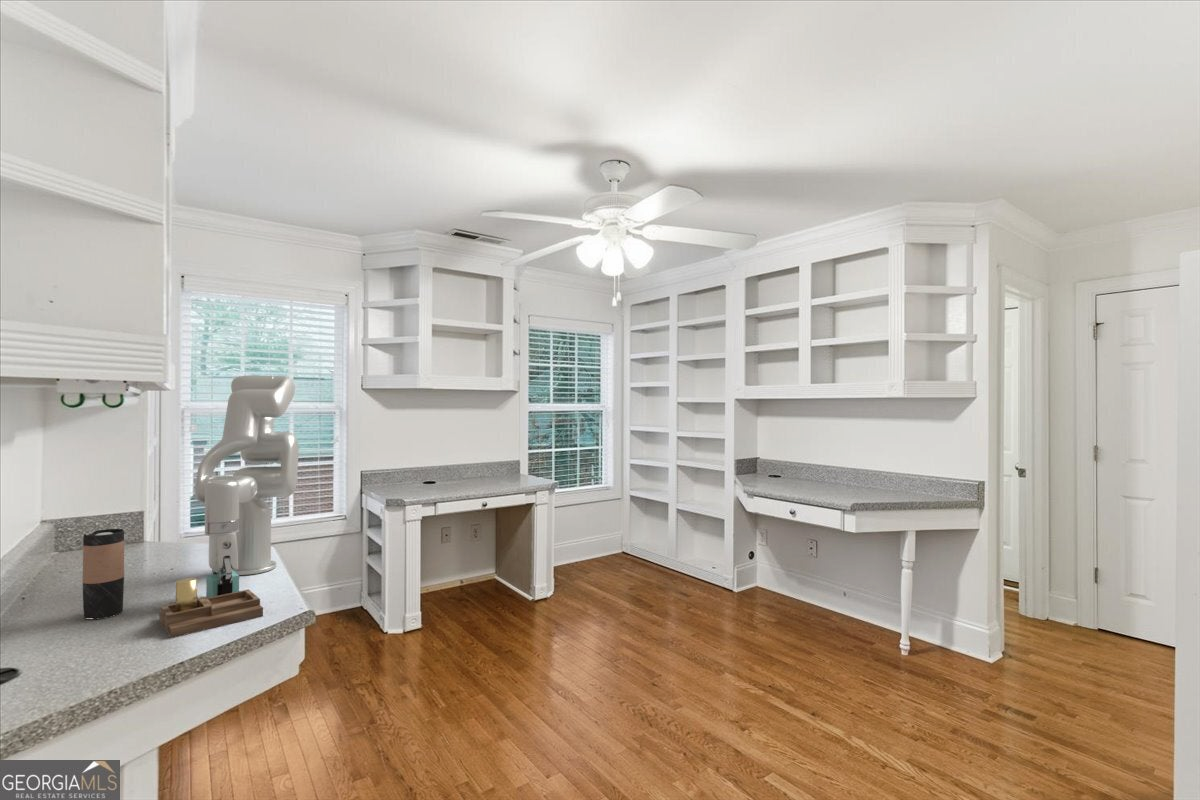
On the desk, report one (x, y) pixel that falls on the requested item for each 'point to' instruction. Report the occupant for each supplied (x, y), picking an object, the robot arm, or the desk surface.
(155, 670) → the desk surface
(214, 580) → the block
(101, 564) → the travel mug
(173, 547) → the desk surface
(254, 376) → the robot arm
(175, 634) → the organizer
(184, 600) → the peg
